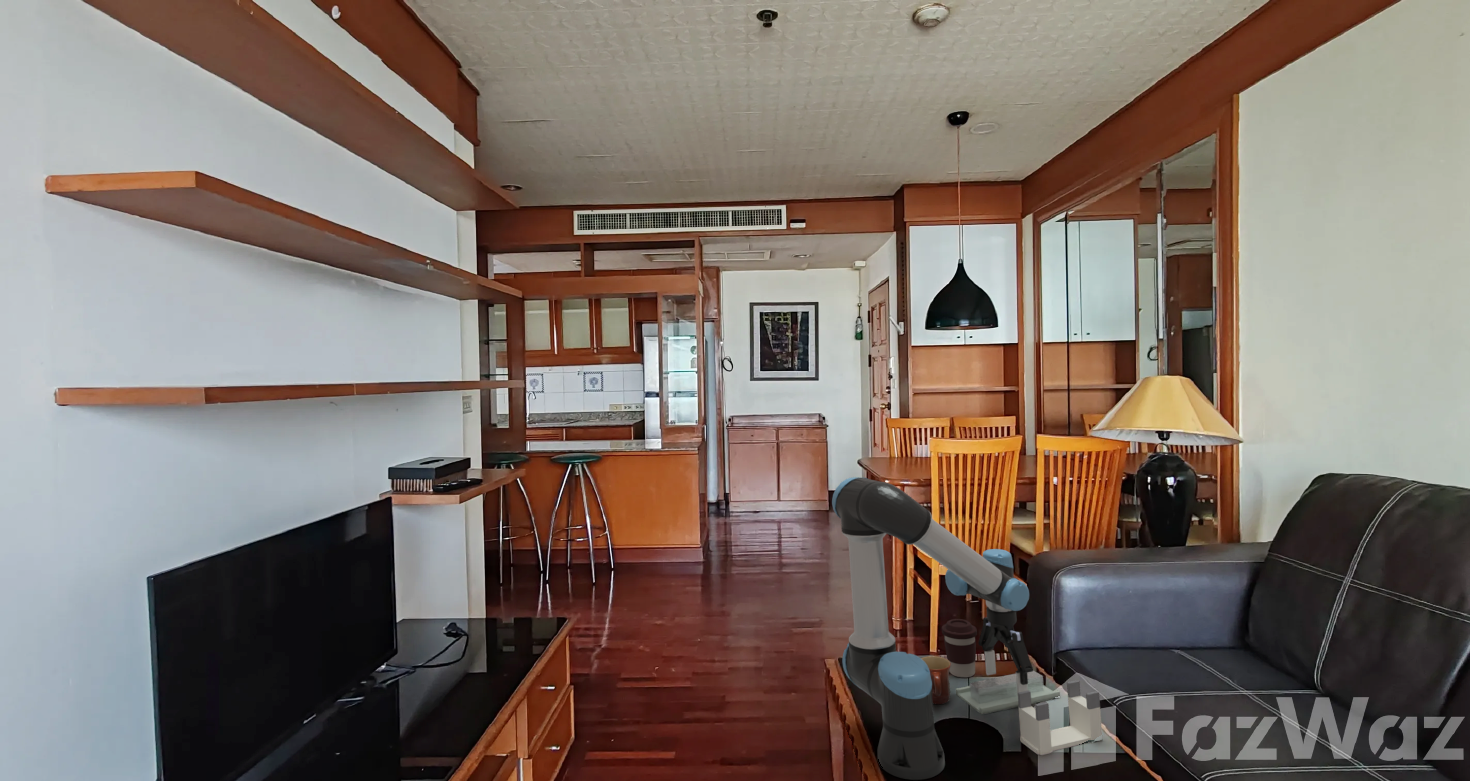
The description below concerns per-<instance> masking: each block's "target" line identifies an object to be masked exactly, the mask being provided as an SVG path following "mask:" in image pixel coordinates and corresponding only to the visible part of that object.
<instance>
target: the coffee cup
mask: <svg viewBox="0 0 1470 781" xmlns="http://www.w3.org/2000/svg"><path fill="white" fill-rule="evenodd" d="M941 633H942V635H943V636H944V639H943V640H944V647H945V654H946V659H947V660H949V661H950V663H951V666H950V670H949V674H951V675H952V676H955V677H956V678H957V677H958V678H971V677H973V676H974V675H975V673H976V660H977V658H976V656H977V651H976V650H977V649H976V648H977V646H976V645H977V643H976V642H977V641H976V636H977V635H978V630H977V627H976V626H975V625H972V623H971V622H970V621H969V620H967V619H962V618H953V619H949V620H947V621H946V623H944V624H942V626H941Z"/></svg>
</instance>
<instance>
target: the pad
mask: <svg viewBox="0 0 1470 781" xmlns="http://www.w3.org/2000/svg"><path fill="white" fill-rule="evenodd" d="M1043 688H1044V690H1043V691H1039V692H1034V693H1031V705H1033V704H1039V703H1044V702H1047V701H1050V700H1051V699H1052V700H1054V699H1053V698H1055V697H1058V696H1060V697H1061V691H1059V690H1057V689H1056V690H1052V689H1050V688H1049V687H1047V686H1046V685H1044V684H1043ZM955 695H956V696H958V698H960V699H961V700H963V701H964V702H965V703H966V704H967V705H969V706H970V707H971V708H973V709H974V710H975V711H977V713H979V714H980V715H987V714H992V713H995V712H996V713H997V712H1000V711H1007V710H1011V709H1015V708H1019V706H1018V696H1015V697H1010V698H1006V699H1001V700H996V701H992V702H987V703H982V704H979V703H978V702H976V701H975V700H974V699H972V698H971V693H970V685H968V686H963V687H959V688H958V687H957V688H955ZM1052 700H1051V701H1052Z"/></svg>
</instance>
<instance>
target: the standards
mask: <svg viewBox="0 0 1470 781" xmlns="http://www.w3.org/2000/svg"><path fill="white" fill-rule="evenodd" d="M1080 685H1081V682H1080V680H1078V679H1076V680H1072V681H1066V686H1067V687H1066V689H1067V701H1068V702H1067V703H1068V714H1069V715H1068V716H1069V726H1068V725H1067V726H1063V727H1059V728H1055V729H1054V728H1053V729H1051V722H1050V721H1051V720H1050V704H1049V703H1048V702H1047V701H1043V702H1038V703H1034V704H1035V705H1034V707H1033V706H1032V705H1033V704H1031V692H1030V691H1023V692H1018V706H1019V707H1018V719H1019V730H1020V731H1019V732H1020V733H1019V734H1020V738H1019V740H1020V742H1021V744H1023V745H1025V746H1026V747H1027V748H1028V749H1030V750H1031V751H1032V752H1034V753H1035V754H1036V755H1040V756H1044V755H1048V754H1052V753H1053V752H1054V751H1058V750H1059V751H1060V750H1063V749H1067V748H1072V747H1075V746H1080V745H1083V744H1082V743H1084V742H1086V741H1088V740H1094V739H1096V738H1097V737H1099V736H1101V735H1102V736H1103V731H1102V715H1101V714H1102V712H1101V703H1100V702H1101V701H1100V692H1099V691H1098V690H1095V691H1090V692H1086V693H1085V697H1084V696H1083V695H1082V694H1081V686H1080ZM1079 744H1080V745H1079ZM1084 744H1085V743H1084Z"/></svg>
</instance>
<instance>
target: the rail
mask: <svg viewBox="0 0 1470 781" xmlns="http://www.w3.org/2000/svg"><path fill="white" fill-rule="evenodd" d="M1027 676H1028V684H1027V686H1028V691H1030V692H1031V693H1034V692H1039V691H1043V690H1044V688H1043V685H1044V678H1043V677H1044V676H1043V675H1042V674H1040V673H1038V672H1036V671H1035V670H1034V669H1033V672H1028V673H1027ZM969 686H970V693H971V698H972V699H974V700H975V701H976V702H978V703H979V704H982V703H987V702H992V701H996V700H1001V699H1006V698H1010V697H1015V696H1017V683H1016V673H1012V674H1008V675H1002V676H997V677H993V678H988V679H983V680H976V681H973V682H969Z"/></svg>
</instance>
